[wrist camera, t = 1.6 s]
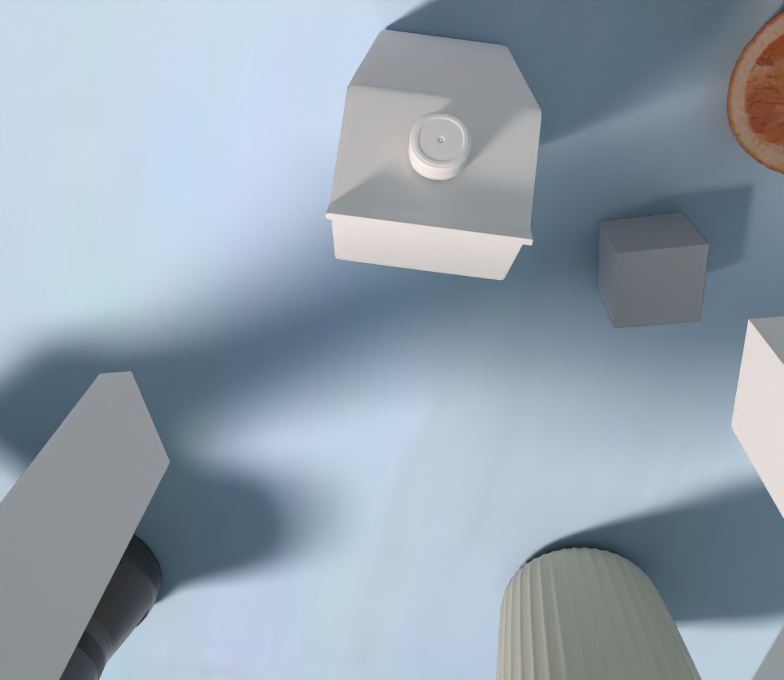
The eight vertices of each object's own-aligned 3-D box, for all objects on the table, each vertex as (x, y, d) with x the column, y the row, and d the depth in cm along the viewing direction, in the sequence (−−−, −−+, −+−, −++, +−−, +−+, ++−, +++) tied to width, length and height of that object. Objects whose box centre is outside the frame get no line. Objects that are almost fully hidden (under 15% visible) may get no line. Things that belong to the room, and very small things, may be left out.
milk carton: (483, 170, 40) (511, 331, 24) (368, 155, 40) (320, 306, 24) (507, 44, 36) (558, 137, 20) (380, 28, 36) (332, 108, 20)
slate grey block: (597, 289, 44) (614, 328, 40) (599, 220, 42) (616, 253, 37) (675, 282, 44) (700, 320, 39) (681, 211, 41) (709, 243, 37)
